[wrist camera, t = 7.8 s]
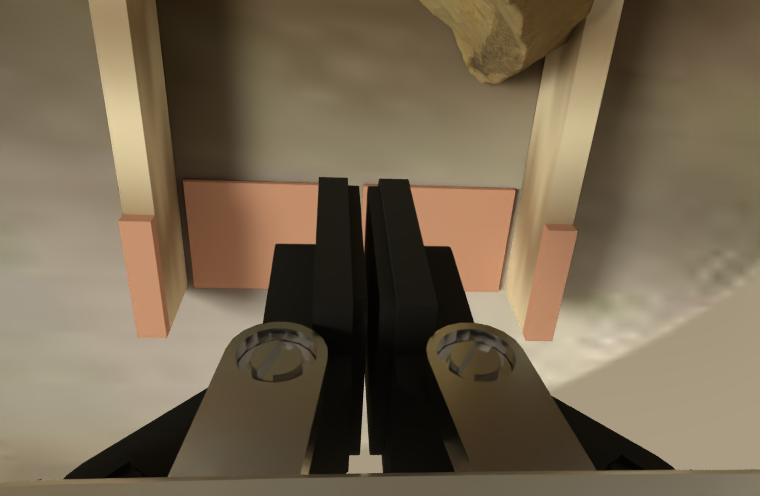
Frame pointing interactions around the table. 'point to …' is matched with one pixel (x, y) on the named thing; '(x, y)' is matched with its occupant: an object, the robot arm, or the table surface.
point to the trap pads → (298, 226)
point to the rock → (508, 31)
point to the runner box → (156, 163)
